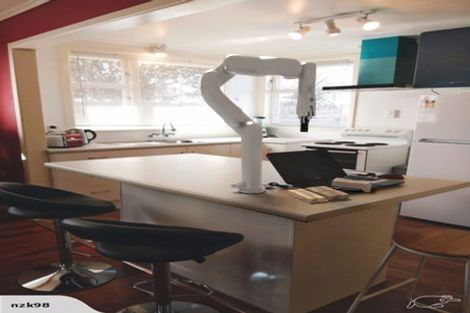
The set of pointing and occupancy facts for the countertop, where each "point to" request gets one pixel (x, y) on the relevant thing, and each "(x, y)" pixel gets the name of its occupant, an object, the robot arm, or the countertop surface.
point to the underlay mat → (336, 200)
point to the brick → (352, 184)
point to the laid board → (306, 196)
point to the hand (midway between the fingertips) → (304, 131)
